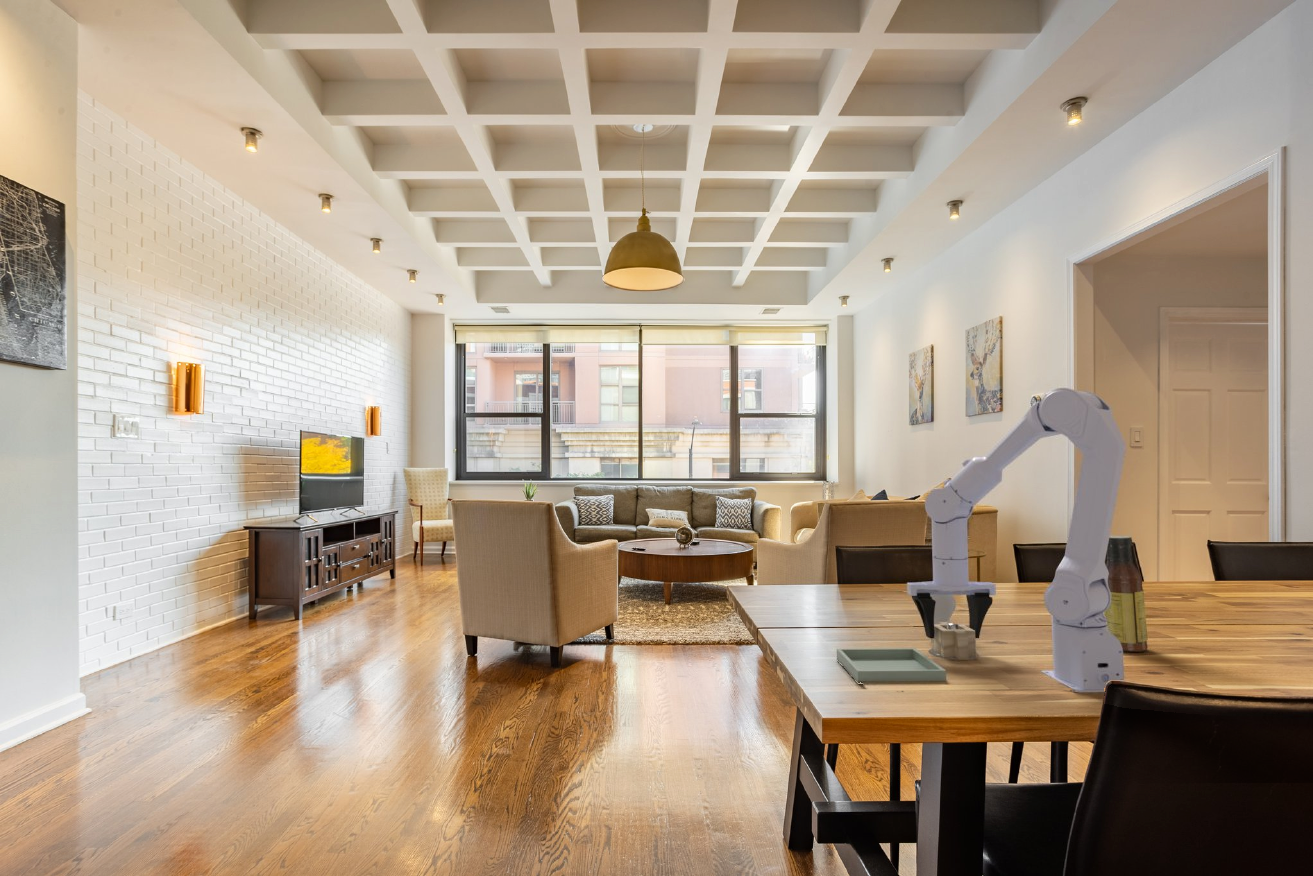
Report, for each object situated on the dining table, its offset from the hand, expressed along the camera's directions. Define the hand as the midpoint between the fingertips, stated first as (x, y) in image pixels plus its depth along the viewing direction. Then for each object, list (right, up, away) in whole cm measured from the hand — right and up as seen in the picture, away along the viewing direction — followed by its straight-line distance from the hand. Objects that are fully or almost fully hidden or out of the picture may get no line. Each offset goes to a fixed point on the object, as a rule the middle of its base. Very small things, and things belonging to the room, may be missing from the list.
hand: (952, 637), depth 119 cm
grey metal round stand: (0, -3, 0) cm, 3 cm away
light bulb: (+2, -4, +11) cm, 12 cm away
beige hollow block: (0, -3, 0) cm, 3 cm away
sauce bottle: (+32, -3, +3) cm, 33 cm away
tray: (-14, -3, -9) cm, 17 cm away
